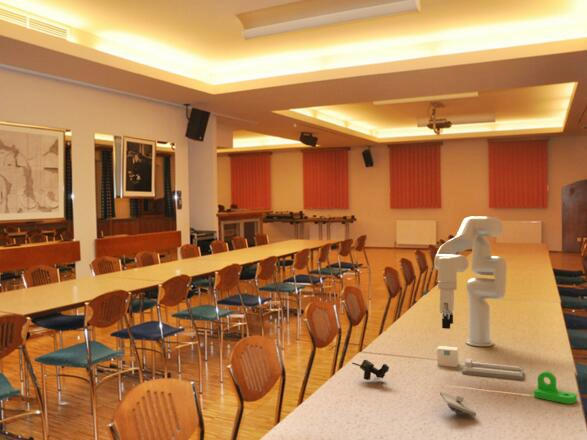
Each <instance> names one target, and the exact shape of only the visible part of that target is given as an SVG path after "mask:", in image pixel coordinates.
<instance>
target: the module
mask: <svg viewBox="0 0 587 440" xmlns="http://www.w3.org/2000/svg"><path fill="white" fill-rule="evenodd" d="M436 354H437V355H436V361H437V365H436V366H443V367H444V366H445V367H454V368H455V367H456V368H458V366H459V347H457V346H456V347H455V346H445V345H439V346H437V348H436Z"/></svg>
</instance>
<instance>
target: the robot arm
mask: <svg viewBox="0 0 587 440" xmlns="http://www.w3.org/2000/svg"><path fill="white" fill-rule="evenodd" d="M503 232H504V223H503V221H502V220H501V219H500V218H496V217H493V216H492V217H491V216H468V217H465V218H464V219H463V220H462V222H461V224H460V226H459V227H458V230H457V233H456V234H455V236H454V237H453V238H450V239H449V240H447V241H446V242H444V243H443V244H442V245H440V247H439V248H438V249H437V252H436V253H435V256H434V260H433V265H434V268H435V270H437V289H438V290H440V293H439V313H440V314H442V315H441V317H442V318H441V328H442V329H447V330H448V329H449V330H450V329H451V325H453V324H454V307H455V291H456V290H457V289H458V288H457V286H458V284H457V277H458V276H457V274H458V273H464V272H465V271H467V269H468V268H469V259H468V258H467V256H465V255H463V254H457V253H461V252H465V251H467V250H470V249H471V248H472V251H471V265H470V266H471V272H472V273H473V274H474V275H476V276H477V275H479V276H489V277H490V276H491V277H493V278H489V277H488V278H487V277H472V278H469V279H468V280H467V282H466V286H465V287H466V293H467V299H468V338H466V339H465V343H466V345H469V346H472V347H473V346H474V347H492V346H493V345H494V341H493V340H491V317H490V316H491V312H490V311H491V309H490V305H489V303H488V301H487V300H488V299H489V300H502V299H503V298H504V297H505V295H506V290H507V289H506V287H507V285H506V283H507V270H508V266H507V262H506V259H505V258H504V257H503V256H499V255H492V245H491V243H490V241H489V240H488V238H487V237H494V238H495V237H496V238H498V237H500V236H501V235H502V234H503ZM486 299H487V300H486Z"/></svg>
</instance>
